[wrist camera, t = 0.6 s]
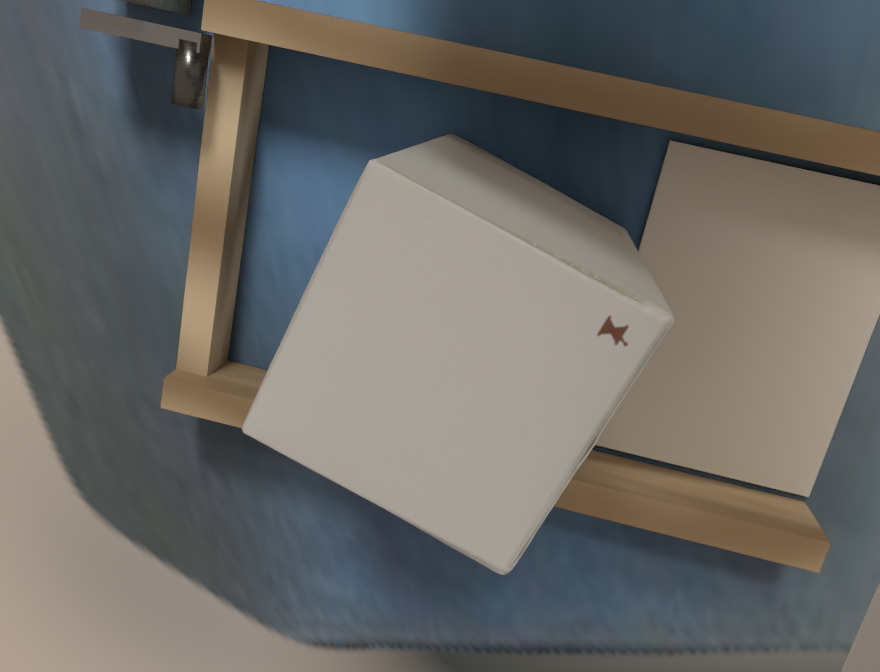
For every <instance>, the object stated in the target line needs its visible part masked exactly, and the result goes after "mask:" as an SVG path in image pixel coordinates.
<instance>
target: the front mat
mask: <svg viewBox="0 0 880 672" xmlns="http://www.w3.org/2000/svg"><path fill="white" fill-rule="evenodd" d="M638 252H639V254H640V256H641V258H642V259H643V261H644V263H645V265H646V267H647V268H648V270H649V272H650V274H651V276H652V278H653V279H654V281H655V283H656V285H657V286H658V288H659V290H660V292H661V294H662V295H663V298H664V299H665V301H666V303H667V304H668V306H669V308H670V309H671V311H672V313H673V316H674V318H675V319H674V324H673V325H672V327H671V328H670V330H669V331H668V333H667V334H666V335H665V337H664V338H663V340H662V341H661V342H660V344H659V345H658V347H657V348H656V350H655V351H654V353H653V354H652V356H651V357H650V359H649V361H648V362H647V364H646V365H645V367H644V368H643V370H642V371H641V373H640V374H639V376H638V377H637V379H636V380H635V382H634V383H633V385H632V386H631V388H630V389H629V391H628V392H627V394H626V395H625V397H624V399H623V400H622V402H621V403H620V405H619V406H618V408H617V409H616V411H615V413H614V414H613V416H612V417H611V419H610V420H609V422H608V423H607V425H606V426H605V428H604V429H603V431H602V433H601V435H600V437H599V439H598V441H597V443H596V444H595V445H597V446H601V447H605V448H610V449H614V450H618V451H622V452H626V453H630V454H634V455H638V456H642V457H646V458H650V459H654V460H659V461H663V462H667V463H671V464H675V465H679V466H683V467H687V468H691V469H695V470H699V471H704V472H708V473H712V474H716V475H720V476H724V477H728V478H732V479H736V480H740V481H744V482H749V483H753V484H757V485H761V486H765V487H769V488H773V489H777V490H781V491H785V492H789V493H794V494H798V495H802V496H806V497H809V496H810V493H811V490H812V488H813V485H814V483H815V480H816V477H817V475H818V472H819V470H820V467H821V464H822V462H823V459H824V457H825V454H826V452H827V449H828V446H829V444H830V441H831V439H832V436H833V433H834V431H835V428H836V426H837V423H838V420H839V418H840V415H841V413H842V410H843V408H844V405H845V402H846V400H847V397H848V395H849V392H850V389H851V387H852V384H853V382H854V379H855V376H856V374H857V371H858V369H859V366H860V363H861V361H862V358H863V356H864V353H865V351H866V348H867V345H868V343H869V340H870V338H871V335H872V332H873V330H874V327H875V325H876V322H877V319H878V317H879V314H880V186H879V185H874V184H870V183H865V182H861V181H856V180H851V179H847V178H842V177H837V176H833V175H828V174H823V173H819V172H814V171H810V170H805V169H800V168H796V167H791V166H786V165H782V164H777V163H772V162H768V161H763V160H759V159H754V158H749V157H745V156H740V155H735V154H731V153H726V152H721V151H717V150H712V149H708V148H703V147H698V146H694V145H689V144H684V143H680V142H675V141H669V144H668V148H667V151H666V155H665V158H664V162H663V165H662V169H661V172H660V176H659V179H658V183H657V186H656V190H655V193H654V197H653V200H652V204H651V207H650V211H649V214H648V218H647V222H646V225H645V229H644V232H643V236H642V239H641V243H640V246H639V250H638Z"/></svg>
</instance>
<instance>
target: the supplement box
mask: <svg viewBox="0 0 880 672" xmlns="http://www.w3.org/2000/svg"><path fill="white" fill-rule="evenodd" d="M674 319H675V318H674V316H673V313H672V311H671V309H670V308H669V306H668V304H667V303H666V301H665V299H664V298H663V295H662V294H661V292H660V290H659V288H658V286H657V285H656V283H655V281H654V279H653V278H652V276H651V274H650V272H649V270H648V268H647V267H646V265H645V263H644V261H643V259H642V258H641V256H640V254H639V252H638V250H637V249H636V247H635V245H634V243H633V241H632V240H631V238H630V236H629V234H628V232H627V230H626V229H625V228H623V227H621V226H620V225H618V224H616V223H614V222H612V221H611V220H609V219H607V218H605V217H603V216H602V215H600V214H598V213H596V212H594V211H593V210H591V209H589V208H587V207H585V206H584V205H582V204H580V203H578V202H577V201H575V200H573V199H571V198H570V197H568V196H566V195H564V194H563V193H561V192H559V191H558V190H556V189H554V188H552V187H551V186H549V185H547V184H545V183H544V182H542V181H540V180H538V179H536V178H534V177H532V176H531V175H529V174H527V173H525V172H523V171H521V170H519V169H518V168H516V167H514V166H512V165H510V164H508V163H507V162H505V161H503V160H501V159H499V158H498V157H496V156H494V155H492V154H490V153H489V152H487V151H485V150H483V149H481V148H479V147H478V146H476V145H474V144H472V143H470V142H468V141H466V140H464V139H463V138H461V137H459V136H457V135H455V134H447V135H445V136H441V137H438V138H436V139H433V140H430V141H427V142H424V143H421V144H418V145H415V146H412V147H409V148H406V149H403V150H400V151H398V152H394V153H391V154H388V155H385V156H383V157H379V158H376V159H371V160H370V161H369V162H368V164H367V166H366V168H365V169H364V171H363V173H362V175H361V177H360V179H359V181H358V183H357V185H356V186H355V188H354V190H353V192H352V194H351V196H350V198H349V200H348V202H347V204H346V207H345V209H344V211H343V213H342V215H341V217H340V219H339V221H338V223H337V225H336V227H335V229H334V231H333V233H332V235H331V238H330V240H329V242H328V244H327V246H326V248H325V250H324V252H323V254H322V256H321V258H320V260H319V262H318V265H317V267H316V269H315V271H314V273H313V275H312V277H311V279H310V281H309V283H308V285H307V288H306V290H305V292H304V294H303V296H302V298H301V300H300V303H299V305H298V307H297V309H296V311H295V313H294V315H293V318H292V320H291V322H290V324H289V326H288V328H287V330H286V333H285V335H284V337H283V339H282V341H281V343H280V345H279V348H278V350H277V352H276V354H275V356H274V358H273V360H272V362H271V364H270V367H269V369H268V371H267V373H266V375H265V377H264V379H263V381H262V383H261V386H260V388H259V390H258V392H257V395H256V397H255V399H254V401H253V404H252V406H251V408H250V410H249V413H248V415H247V417H246V419H245V422H244V424H243V426H242V431H243V433H244V434H246V435H248V436H250V437H252V438H254V439H256V440H258V441H259V442H261V443H263V444H265V445H267V446H269V447H270V448H272V449H274V450H276V451H278V452H280V453H281V454H283V455H285V456H287V457H289V458H291V459H293V460H294V461H296V462H298V463H300V464H302V465H304V466H306V467H307V468H309V469H311V470H313V471H315V472H317V473H319V474H321V475H322V476H324V477H326V478H328V479H330V480H332V481H333V482H335V483H337V484H339V485H341V486H343V487H345V488H346V489H348V490H350V491H352V492H354V493H356V494H358V495H359V496H361V497H363V498H365V499H367V500H369V501H371V502H372V503H374V504H376V505H378V506H380V507H382V508H384V509H385V510H387V511H389V512H391V513H392V514H394V515H396V516H398V517H399V518H401V519H403V520H405V521H406V522H408V523H410V524H412V525H413V526H415V527H417V528H419V529H420V530H422V531H424V532H426V533H427V534H429V535H431V536H432V537H434V538H436V539H438V540H439V541H441V542H443V543H445V544H446V545H448V546H450V547H452V548H453V549H455V550H457V551H459V552H461V553H462V554H464V555H466V556H468V557H469V558H471V559H473V560H475V561H477V562H478V563H480V564H482V565H483V566H485V567H487V568H489V569H490V570H492V571H494V572H495V573H497V574H500V575H506V574H507V573H509V572H510V571H511V570H512V569H513V568H514V567H515V565H516V564H517V562H518V560H519V559H520V557H521V556H522V554H523V553H524V551H525V550H526V548H527V547H528V545H529V544H530V542H531V541H532V539H533V537H534V536H535V534H536V533H537V531H538V529H539V528H540V526H541V525H542V523H543V522H544V520H545V519H546V517H547V516H548V514H549V512H550V511H551V509H552V508H553V506H554V505H555V503H556V502H557V500H558V499H559V497H560V496H561V494H562V492H563V491H564V489H565V488H566V486H567V485H568V483H569V482H570V480H571V479H572V477H573V476H574V474H575V472H576V471H577V470H578V468H579V467H580V466H581V464H582V463H583V461H584V460H585V459H586V457H587V456H588V454H589V453H590V451H591V450H592V449H593V447H594V446H595V444H596V443H597V441H598V439H599V437H600V435H601V433H602V431H603V429H604V428H605V426H606V425H607V423H608V422H609V420H610V419H611V417H612V416H613V414H614V413H615V411H616V409H617V408H618V406H619V405H620V403H621V402H622V400H623V399H624V397H625V395H626V394H627V392H628V391H629V389H630V388H631V386H632V385H633V383H634V382H635V380H636V379H637V377H638V376H639V374H640V373H641V371H642V370H643V368H644V367H645V365H646V364H647V362H648V361H649V359H650V357H651V356H652V354H653V353H654V351H655V350H656V348H657V347H658V345H659V344H660V342H661V341H662V340H663V338H664V337H665V335H666V334H667V333H668V331H669V330H670V328H671V327H672V325H673V324H674Z"/></svg>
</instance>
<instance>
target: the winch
mask: <svg viewBox="0 0 880 672" xmlns="http://www.w3.org/2000/svg"><path fill="white" fill-rule="evenodd" d="M120 1H124V2H128V3H133V4H138V5H142V6H147V7H152V8H156V9H161V10H166V11H170V12H175V13H180V14H184V15H189V16H190V7H191V0H120ZM80 28H85V29H89V30H94V31H98V32H103V33H108V34H112V35H117V36H121V37H126V38H131V39H135V40H140V41H144V42H149V43H154V44H158V45H163V46H168V47H172V48H176V56H175V66H174V76H173V86H172V97H171V103H172V104H175V105H179V106H184V107H189V108H195V109H203V103H204V94H205V85H206V76H207V67H208V58H209V55H210V48H211V39H212V36H211V35H207V34H202V33H197V32H193V31H188V30H183V29H179V28H174V27H169V26H165V25H160V24H155V23H151V22H146V21H141V20H137V19H132V18H127V17H123V16H118V15H114V14H109V13H104V12H100V11H95V10H90V9H86V8H81V18H80Z"/></svg>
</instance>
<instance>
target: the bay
mask: <svg viewBox="0 0 880 672" xmlns="http://www.w3.org/2000/svg"><path fill="white" fill-rule="evenodd" d="M201 30H203V31H208V32H212V33H214V36H213V45H212V54H211V62H210V71H209V80H208V89H207V98H206V107H205V116H204V125H203V134H202V143H201V152H200V161H199V170H198V179H197V188H196V197H195V206H194V215H193V223H192V232H191V241H190V250H189V259H188V268H187V277H186V286H185V295H184V304H183V313H182V322H181V331H180V340H179V349H178V358H177V367H176V370H174V371H173V372H171V373H170V374H168V375H167V376H166V377H164V380H163V390H162V399H161V408H163V409H167V410H171V411H175V412H179V413H183V414H187V415H191V416H195V417H199V418H203V419H207V420H211V421H215V422H219V423H223V424H227V425H231V426H235V427H239V428H242V426H243V424H244V422H245V419H246V417H247V415H248V413H249V410H250V408H251V406H252V404H253V401H254V399H255V397H256V395H257V392H258V390H259V388H260V386H261V383H262V381H263V379H264V377H265V375H266V373H267V371H268V370H265V369H261V368H257V367H253V366H248V365H244V364H240V363H236V362H232V361H228V353H229V346H230V338H231V331H232V323H233V316H234V308H235V300H236V293H237V285H238V278H239V270H240V263H241V255H242V247H243V240H244V232H245V225H246V217H247V210H248V202H249V194H250V187H251V179H252V172H253V164H254V156H255V149H256V141H257V134H258V126H259V119H260V111H261V103H262V96H263V88H264V81H265V73H266V66H267V58H268V50H269V45H272V46H277V47H282V48H286V49H291V50H296V51H300V52H305V53H310V54H314V55H319V56H323V57H328V58H333V59H337V60H342V61H347V62H351V63H356V64H361V65H365V66H370V67H375V68H379V69H384V70H389V71H393V72H398V73H403V74H407V75H412V76H417V77H421V78H426V79H431V80H435V81H440V82H444V83H449V84H454V85H458V86H463V87H468V88H472V89H477V90H482V91H486V92H491V93H496V94H500V95H505V96H510V97H514V98H519V99H524V100H528V101H533V102H538V103H542V104H547V105H552V106H556V107H561V108H566V109H570V110H575V111H579V112H584V113H589V114H593V115H598V116H603V117H607V118H612V119H617V120H621V121H626V122H631V123H635V124H640V125H645V126H649V127H654V128H659V129H663V130H668V131H673V132H677V133H682V134H687V135H691V136H696V137H700V138H705V139H710V140H714V141H719V142H724V143H728V144H733V145H738V146H742V147H747V148H752V149H756V150H761V151H766V152H770V153H775V154H780V155H784V156H789V157H794V158H798V159H803V160H808V161H812V162H817V163H822V164H826V165H831V166H835V167H840V168H845V169H849V170H854V171H859V172H863V173H868V174H873V175H877V176H880V132H877V131H872V130H868V129H863V128H858V127H854V126H849V125H844V124H839V123H835V122H830V121H825V120H820V119H816V118H811V117H806V116H801V115H797V114H792V113H787V112H782V111H778V110H773V109H768V108H763V107H759V106H754V105H749V104H745V103H740V102H735V101H730V100H726V99H721V98H716V97H711V96H707V95H702V94H697V93H692V92H688V91H683V90H678V89H673V88H669V87H664V86H659V85H654V84H650V83H645V82H640V81H636V80H631V79H626V78H621V77H617V76H612V75H607V74H602V73H598V72H593V71H588V70H583V69H579V68H574V67H569V66H564V65H560V64H555V63H550V62H545V61H541V60H536V59H531V58H526V57H522V56H517V55H512V54H508V53H503V52H498V51H493V50H489V49H484V48H479V47H474V46H470V45H465V44H460V43H455V42H451V41H446V40H441V39H436V38H432V37H427V36H422V35H417V34H413V33H408V32H403V31H399V30H394V29H389V28H384V27H380V26H375V25H370V24H365V23H361V22H356V21H351V20H346V19H342V18H337V17H332V16H327V15H323V14H318V13H313V12H308V11H304V10H299V9H294V8H290V7H285V6H280V5H275V4H271V3H266V2H261V1H256V0H204V7H203V16H202V26H201ZM554 507H558V508H562V509H566V510H570V511H574V512H578V513H582V514H586V515H590V516H594V517H598V518H602V519H606V520H610V521H613V522H617V523H621V524H625V525H629V526H633V527H637V528H641V529H645V530H649V531H653V532H657V533H661V534H665V535H669V536H673V537H677V538H681V539H685V540H689V541H693V542H697V543H701V544H705V545H709V546H713V547H717V548H721V549H725V550H729V551H733V552H737V553H741V554H745V555H749V556H753V557H757V558H761V559H765V560H769V561H773V562H777V563H781V564H785V565H789V566H793V567H797V568H801V569H805V570H809V571H813V572H817V573H819V572H820V570H821V567H822V565H823V562H824V560H825V557H826V555H827V552H828V550H829V547H830V545H831V542H830V541H829V539H828V538H827V536H826V534H825V533H824V531H823V530H822V528H821V527H820V525H819V524H818V522H817V520H816V519H815V517H814V516H813V514H812V513H811V511H810V510H809V508H808V506H807V505H806V503H805V502H804V501H799V500H795V499H791V498H787V497H783V496H779V495H775V494H771V493H767V492H763V491H759V490H755V489H750V488H746V487H742V486H738V485H734V484H730V483H726V482H722V481H718V480H714V479H710V478H706V477H702V476H697V475H693V474H689V473H685V472H681V471H677V470H673V469H669V468H665V467H661V466H657V465H653V464H648V463H644V462H640V461H636V460H632V459H628V458H624V457H620V456H616V455H612V454H608V453H604V452H599V451H595V450H591V451H590V453H589V454H588V456H587V457H586V459H585V460H584V461H583V463H582V464H581V466H580V467H579V468H578V470H577V471H576V472H575V474H574V476H573V477H572V479H571V480H570V482H569V483H568V485H567V486H566V488H565V489H564V491H563V492H562V494H561V496H560V497H559V499H558V500H557V502H556V503H555V505H554Z"/></svg>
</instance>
